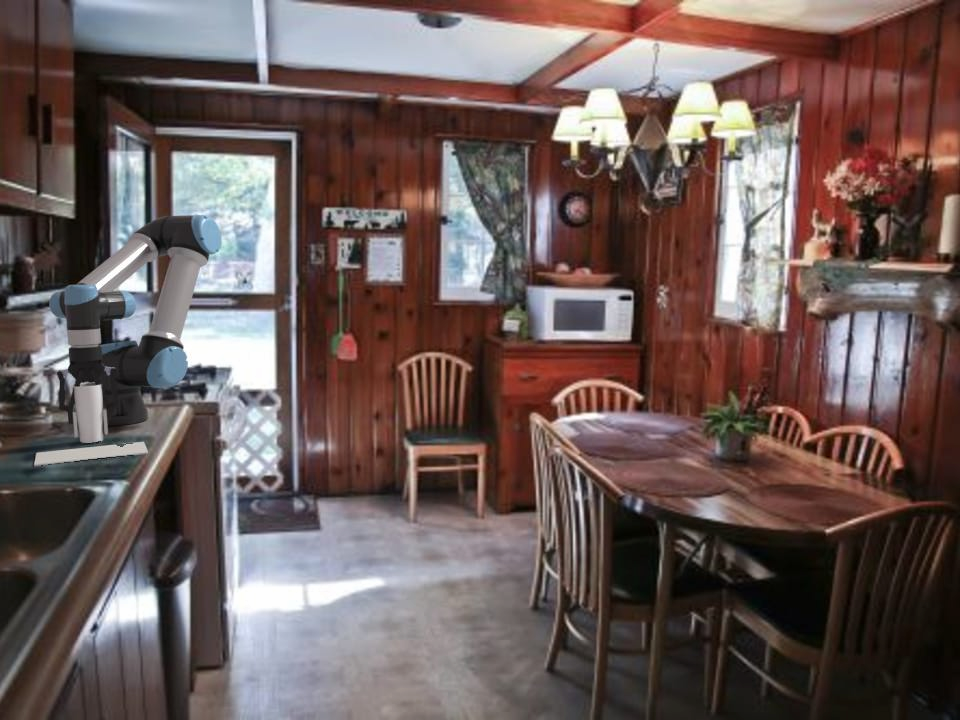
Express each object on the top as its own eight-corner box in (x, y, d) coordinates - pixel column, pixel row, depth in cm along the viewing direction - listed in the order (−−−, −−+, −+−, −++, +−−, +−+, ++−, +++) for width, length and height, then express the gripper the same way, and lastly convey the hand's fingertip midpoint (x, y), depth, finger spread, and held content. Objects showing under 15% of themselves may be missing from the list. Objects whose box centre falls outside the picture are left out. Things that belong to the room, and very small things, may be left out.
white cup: (104, 443, 201) (100, 385, 199) (75, 446, 198) (70, 387, 197) (107, 438, 207) (103, 382, 205) (79, 440, 205) (74, 383, 203)
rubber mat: (144, 443, 201) (143, 441, 201) (148, 453, 190) (148, 452, 190) (36, 454, 190) (36, 452, 190) (34, 466, 179) (34, 464, 179)
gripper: (125, 342, 207) (131, 428, 210) (42, 346, 199) (49, 436, 202) (127, 344, 201) (133, 433, 204) (41, 349, 192) (48, 442, 195)
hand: (91, 434), depth 203 cm, fingers closed on white cup, 6 cm apart
